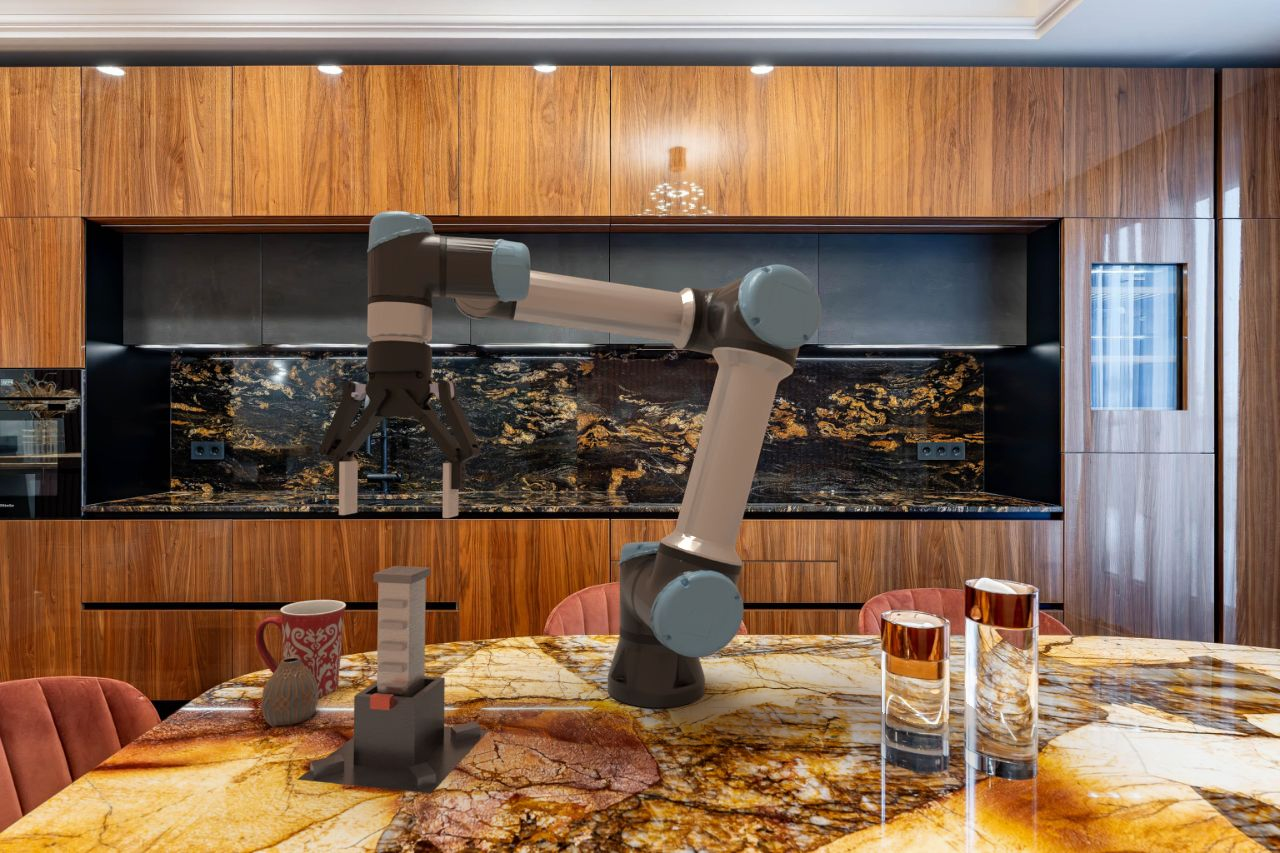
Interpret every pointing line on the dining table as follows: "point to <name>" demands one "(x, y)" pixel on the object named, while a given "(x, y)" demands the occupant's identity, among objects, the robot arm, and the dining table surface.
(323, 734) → the dining table surface
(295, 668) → the vase
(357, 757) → the stand base
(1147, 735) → the dining table surface
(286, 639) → the mug
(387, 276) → the robot arm
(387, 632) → the column
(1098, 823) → the dining table surface
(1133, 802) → the dining table surface
